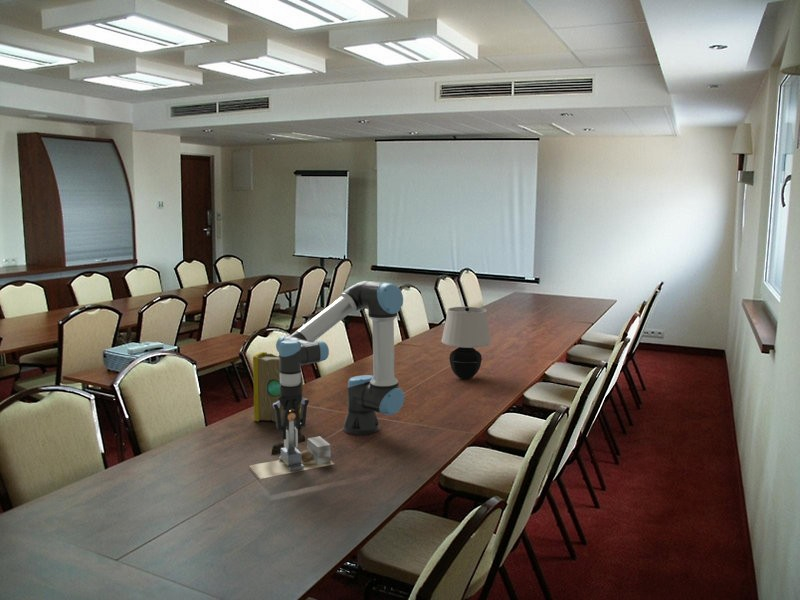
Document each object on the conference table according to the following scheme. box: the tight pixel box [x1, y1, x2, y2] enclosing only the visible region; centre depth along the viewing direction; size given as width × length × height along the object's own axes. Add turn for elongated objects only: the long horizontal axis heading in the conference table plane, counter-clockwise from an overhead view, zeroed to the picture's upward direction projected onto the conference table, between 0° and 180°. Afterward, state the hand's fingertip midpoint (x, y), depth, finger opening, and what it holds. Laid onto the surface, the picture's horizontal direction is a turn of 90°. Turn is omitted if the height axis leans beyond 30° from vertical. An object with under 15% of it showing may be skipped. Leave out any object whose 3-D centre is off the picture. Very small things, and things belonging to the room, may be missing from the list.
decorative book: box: [252, 351, 304, 423], centre depth 293 cm, size 20×11×30 cm, turn 77°
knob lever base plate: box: [248, 435, 335, 484], centre depth 242 cm, size 28×13×8 cm, turn 120°
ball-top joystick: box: [278, 410, 304, 471], centre depth 240 cm, size 5×12×20 cm, turn 30°
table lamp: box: [440, 306, 492, 381], centre depth 365 cm, size 27×27×40 cm
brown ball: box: [300, 449, 312, 462], centre depth 244 cm, size 4×4×4 cm
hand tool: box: [271, 433, 306, 455], centre depth 260 cm, size 19×4×5 cm, turn 150°
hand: (290, 446), depth 241 cm, fingers closed on ball-top joystick, 3 cm apart
